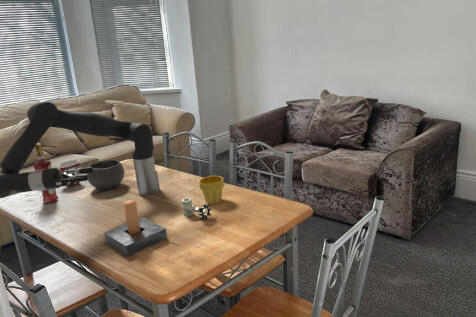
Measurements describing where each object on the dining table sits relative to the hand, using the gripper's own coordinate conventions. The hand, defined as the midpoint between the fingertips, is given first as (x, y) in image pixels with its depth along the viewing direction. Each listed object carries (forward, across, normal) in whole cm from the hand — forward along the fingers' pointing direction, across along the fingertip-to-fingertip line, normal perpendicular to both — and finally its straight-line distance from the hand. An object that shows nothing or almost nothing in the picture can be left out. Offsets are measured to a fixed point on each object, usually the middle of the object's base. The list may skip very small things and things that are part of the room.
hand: (90, 173), depth 153 cm
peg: (+14, -11, +24) cm, 30 cm away
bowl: (-8, +52, +25) cm, 58 cm away
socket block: (+14, -11, +24) cm, 30 cm away
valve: (+35, +4, +25) cm, 44 cm away
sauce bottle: (-33, +42, +24) cm, 59 cm away
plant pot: (+43, +18, +26) cm, 53 cm away
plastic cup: (-28, +64, +25) cm, 74 cm away
